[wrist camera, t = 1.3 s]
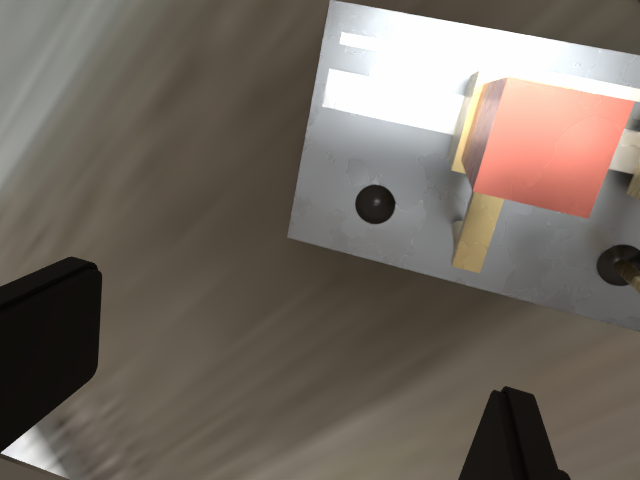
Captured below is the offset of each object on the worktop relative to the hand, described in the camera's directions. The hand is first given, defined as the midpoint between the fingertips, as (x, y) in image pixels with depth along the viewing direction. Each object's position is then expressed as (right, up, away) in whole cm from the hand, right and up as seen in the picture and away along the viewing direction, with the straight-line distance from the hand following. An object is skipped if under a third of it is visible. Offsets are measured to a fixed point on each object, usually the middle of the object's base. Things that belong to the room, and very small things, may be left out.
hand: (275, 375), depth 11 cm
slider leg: (+10, +7, +15) cm, 20 cm away
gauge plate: (+12, +7, +17) cm, 22 cm away
